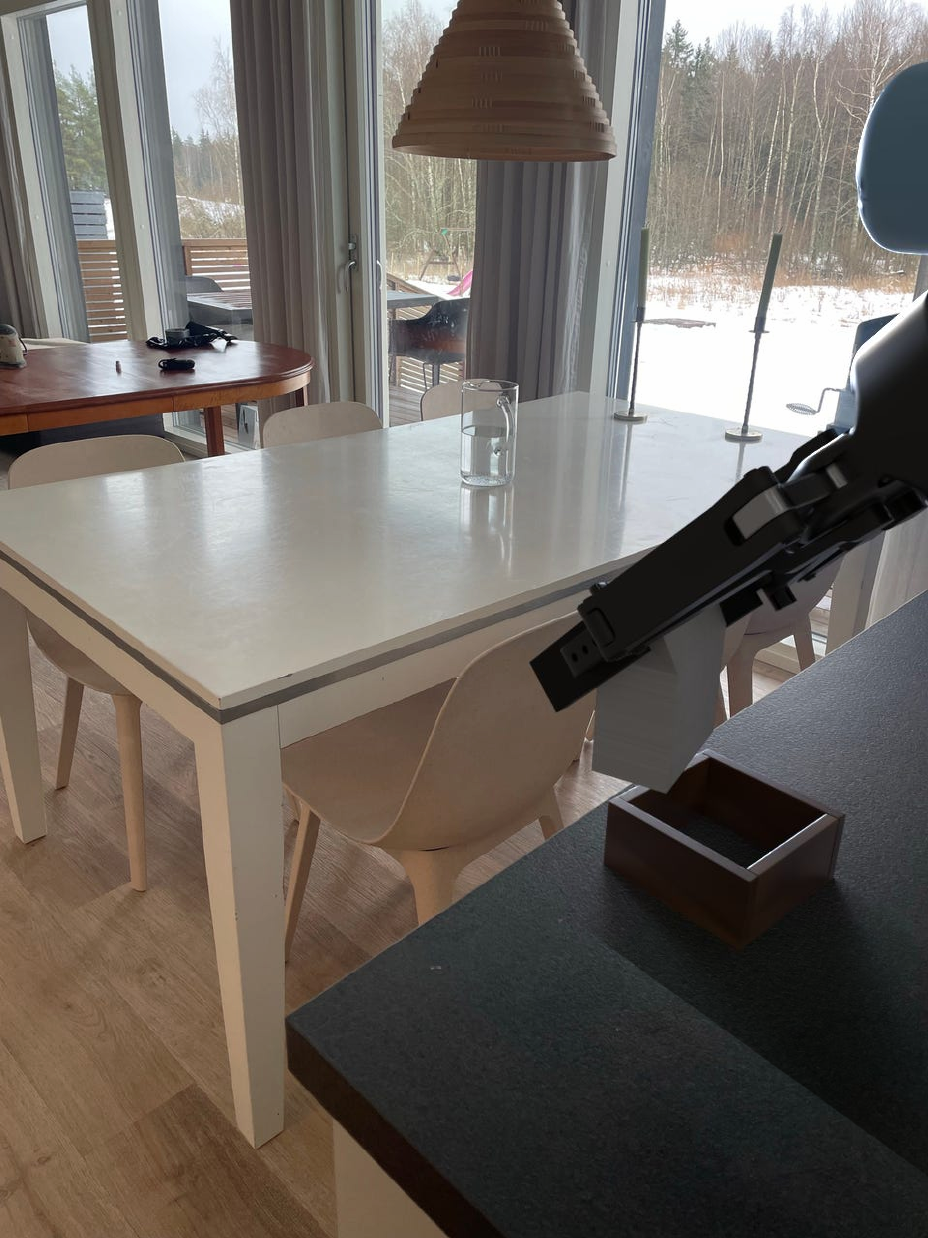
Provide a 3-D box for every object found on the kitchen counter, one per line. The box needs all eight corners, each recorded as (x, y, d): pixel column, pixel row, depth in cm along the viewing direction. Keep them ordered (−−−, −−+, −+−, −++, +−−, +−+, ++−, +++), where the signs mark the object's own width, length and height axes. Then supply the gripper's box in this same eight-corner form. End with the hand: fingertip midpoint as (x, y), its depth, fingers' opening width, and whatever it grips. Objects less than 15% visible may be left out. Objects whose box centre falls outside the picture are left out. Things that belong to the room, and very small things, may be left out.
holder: (697, 829, 62) (707, 748, 60) (829, 902, 56) (846, 814, 53) (600, 888, 57) (608, 801, 54) (734, 978, 50) (749, 882, 48)
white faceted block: (713, 731, 47) (736, 543, 43) (666, 793, 42) (687, 586, 38) (644, 712, 49) (660, 530, 45) (591, 770, 44) (604, 570, 40)
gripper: (950, 522, 22) (488, 803, 40) (1200, 420, 34) (762, 670, 52) (782, 276, 24) (410, 650, 41) (1077, 263, 36) (693, 556, 54)
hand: (606, 661), depth 47 cm, fingers closed on white faceted block, 8 cm apart
